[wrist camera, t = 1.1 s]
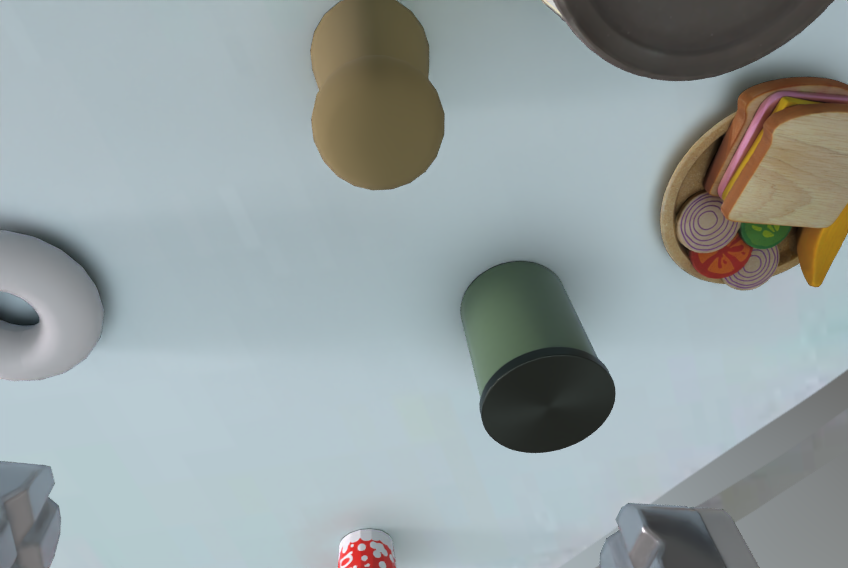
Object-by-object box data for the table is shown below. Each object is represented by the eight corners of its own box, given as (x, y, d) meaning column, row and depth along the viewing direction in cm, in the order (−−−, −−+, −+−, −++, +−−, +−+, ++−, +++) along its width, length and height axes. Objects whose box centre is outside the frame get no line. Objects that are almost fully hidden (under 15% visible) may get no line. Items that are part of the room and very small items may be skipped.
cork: (313, -15, 31) (301, 49, 22) (438, 2, 32) (474, 69, 23) (307, 108, 35) (294, 207, 26) (420, 120, 36) (447, 219, 27)
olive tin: (440, 334, 44) (460, 440, 37) (485, 244, 41) (518, 341, 33) (536, 358, 46) (574, 463, 39) (588, 275, 43) (641, 372, 35)
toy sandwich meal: (618, 254, 42) (647, 298, 38) (729, 43, 35) (777, 69, 31) (781, 289, 45) (822, 332, 41) (913, 100, 38) (978, 131, 34)
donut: (26, 188, 36) (-118, 264, 37) (0, 218, 33) (-154, 299, 34) (146, 316, 41) (16, 378, 43) (132, 352, 38) (-6, 417, 40)
